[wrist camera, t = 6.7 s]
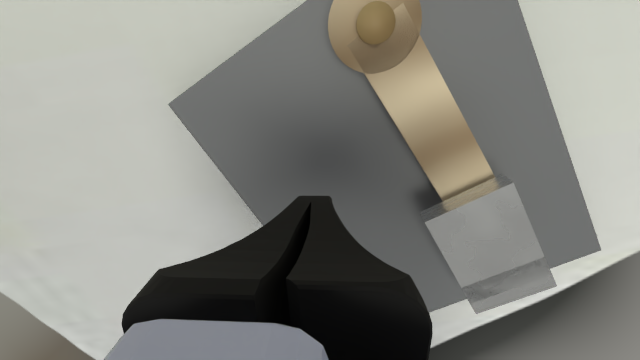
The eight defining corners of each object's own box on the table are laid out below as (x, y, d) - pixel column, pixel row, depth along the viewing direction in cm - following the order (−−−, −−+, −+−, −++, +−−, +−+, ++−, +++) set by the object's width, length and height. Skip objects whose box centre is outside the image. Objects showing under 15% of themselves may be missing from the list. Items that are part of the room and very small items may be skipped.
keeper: (411, 194, 20) (424, 222, 17) (484, 159, 19) (513, 182, 16) (456, 275, 23) (476, 313, 20) (524, 249, 21) (557, 286, 18)
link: (312, 15, 16) (307, 10, 14) (387, -46, 15) (394, -63, 13) (448, 230, 21) (460, 252, 19) (513, 198, 20) (535, 217, 17)
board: (352, 328, 28) (353, 339, 26) (177, 101, 20) (167, 104, 19) (588, 240, 22) (601, 250, 21) (465, -113, 15) (475, -126, 14)
